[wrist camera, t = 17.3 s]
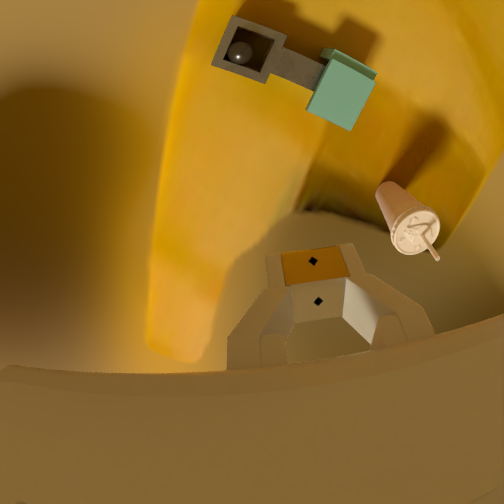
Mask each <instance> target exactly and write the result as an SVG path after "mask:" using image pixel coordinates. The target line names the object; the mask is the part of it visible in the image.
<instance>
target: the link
mask: <svg viewBox="0 0 504 504" xmlns="http://www.w3.org/2000/svg"><path fill="white" fill-rule="evenodd" d="M238 28H239V29H242V30H245V31H248V32H251V33H254V34H256V35H259V36H262V37H264V38H267V39H270V40H272V41H271V43H270V45H269V47H268V49H267V51H266V53H265V56H264V58H263V60H262V62H261V64H260V67H259V69H258V70H257V69H255V68H252V67H249V66H247V65H244V64H237V63H234V62H232V61H231V60H229V59H226V58H225V57H226V55H227V53H228V49H229V47H230V46H231V43H232V41H233V39H234V37H235V34H236V32H237V30H238ZM287 36H288V35H285V34H283V33H280V32H278V31H275V30H273V29H270V28H268V27H265V26H262V25H260V24H257V23H254V22H251V21H248V20H246V19H243V18H240V17H237V16H233V15H232V17H231V19H230V21H229V23H228V26H227V28H226V30H225V32H224V35H223V37H222V39H221V42H220V44H219V46H218V49H217V51H216V53H215V56H214V58H213V61H212V63H211V65H212V66H215V67H218V68H222V69H225V70H228V71H231V72H234V73H236V74H239V75H242V76H245V77H248V78H250V79H253V80H256V81H258V82H261V83H264V84H265V83H266V81H267V79H268V76H269V74H270V73H272V74H275V75H277V76H280V77H282V78H285V79H287V80H289V81H292V82H294V83H296V84H298V85H301V86H303V87H305V88H307V89H310V90H312V91H315V89H316V86H317V84H318V82H319V80H320V78H321V76H322V74H323V72H324V70H325V68H326V66H324V65H322V64H320V63H318V62H316V61H314V60H312V59H310V58H307V57H305V56H303V55H301V54H299V53H296V52H294V51H292V50H289V49H287V48H285V47H283V44H284V42H285V40H286V38H287Z"/></svg>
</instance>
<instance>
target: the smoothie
mask: <svg viewBox="0 0 504 504" xmlns="http://www.w3.org/2000/svg"><path fill="white" fill-rule="evenodd" d="M376 199H377V201H378V203H379V206H380V208H381V210H382V213H383V215H384V217H385V219H386V222H387V224H388V227H389V229H390V232H391V241H392V243H393V245H394V246H395V247H396V249H397V250H398V251H399V252H401V253H403V254H406V255H413V254H417V253H420V252H422V251H424V250H426V249H427V248H428V249H429V251H430V252H431V254H432V255H433V257H434V258H435V260H436V261H438V260H440V257H439V255H438V254H437V252H436V251H435V249H434V248H433V247H432V245H431V244H432V243H433V242H434V241H435V240H436V238H437V236H438V233H439V230H440V221H439V218H438V216H437V215H436V213H435V212H434V211H433V209H431V208H429V207H428V206H424V205H423V204H422V203H420V202H419V201H418V200H417V199H415V198H414V197H413V196H412V195H410V194H409V193H408V192H407V191H405V190H404V189H403V188H402V187H400V186H399V185H398V184H396V183H395V182H393V181H386V182H383V183H382V184H381V185H380V186H379V187H378V188H377V190H376Z"/></svg>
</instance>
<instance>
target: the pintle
mask: <svg viewBox="0 0 504 504" xmlns="http://www.w3.org/2000/svg"><path fill="white" fill-rule="evenodd" d="M252 54H253V51H252V48H251V46H250V45H249V44H247V43H245V42H235V43H233V44H232V45H231V46H230V47H229V49H228V57H229V59H230V60H231V61H232V62H234V63H237V64H243V63H246V62H248V61H249V60H250V59H251V57H252Z"/></svg>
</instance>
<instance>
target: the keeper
mask: <svg viewBox="0 0 504 504" xmlns="http://www.w3.org/2000/svg"><path fill="white" fill-rule="evenodd" d="M319 57H321V58H323V59H325V60H327V61H329V62H328V64H327V66H326V68H325V70H324V72H323V74H322V76H321V78H320V80H319V82H318V84H317V86H316V89H315V91H314V93H313V95H312V97H311V99H310V101H309V103H308V105H307V107H306V110H307V111H308V112H311V113H313V114H315V115H317V116H319V117H322V118H324V119H326V120H328V121H330V122H332V123H334V124H336V125H339V126H341V127H343V128H345V129H347V130H349V131H351V129H352V127H353V125H354V123H355V122H356V120H357V118H358V116H359V114H360V112H361V110H362V108H363V106H364V105H365V103H366V101H367V99H368V97H369V95H370V93H371V91H372V89H373V87H374V85H375V83H376V82H375V81H373V80H374V78H375V76H376V74H377V72H376V71H374V70H372V69H371V68H369V67H367V66H365V65H364V64H362V63H360V62H358V61H357V60H355V59H353V58H351V57H349V56H347V55H346V54H344V53H342V52H340V51H338V50H336V49H330V48H323V50H322V52H321V54H320V56H319Z"/></svg>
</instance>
